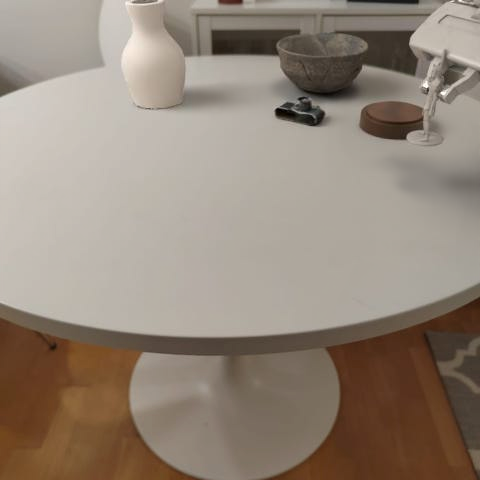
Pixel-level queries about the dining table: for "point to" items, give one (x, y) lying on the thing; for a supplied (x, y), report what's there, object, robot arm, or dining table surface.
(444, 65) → the robot arm
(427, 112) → the figurine
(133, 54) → the vase
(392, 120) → the stand
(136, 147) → the dining table surface
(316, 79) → the bowl
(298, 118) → the camera
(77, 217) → the dining table surface
